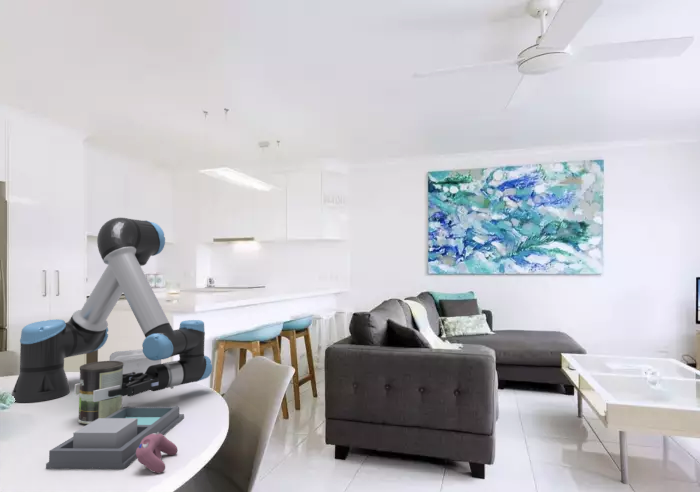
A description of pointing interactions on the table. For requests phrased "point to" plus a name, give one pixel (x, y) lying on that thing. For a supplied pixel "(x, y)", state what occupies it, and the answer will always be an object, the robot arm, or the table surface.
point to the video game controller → (155, 451)
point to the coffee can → (95, 379)
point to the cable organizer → (133, 361)
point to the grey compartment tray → (112, 438)
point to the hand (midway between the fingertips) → (84, 392)
